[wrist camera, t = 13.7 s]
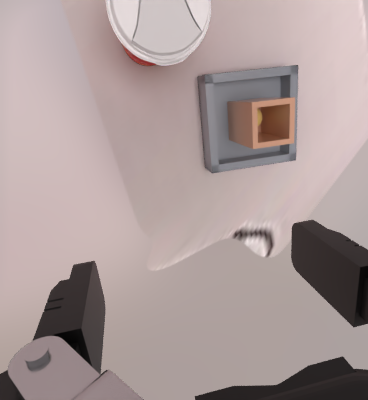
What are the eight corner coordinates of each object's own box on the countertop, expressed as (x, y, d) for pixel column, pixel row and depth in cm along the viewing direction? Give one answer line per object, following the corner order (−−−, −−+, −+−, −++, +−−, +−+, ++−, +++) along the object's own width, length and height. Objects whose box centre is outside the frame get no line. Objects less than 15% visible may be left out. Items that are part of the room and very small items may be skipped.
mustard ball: (236, 109, 39) (242, 106, 37) (256, 107, 40) (264, 103, 37) (238, 131, 40) (245, 129, 37) (258, 128, 40) (266, 126, 37)
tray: (197, 76, 38) (204, 74, 35) (283, 67, 40) (298, 65, 37) (205, 167, 42) (212, 173, 39) (283, 155, 44) (295, 160, 41)
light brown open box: (227, 101, 39) (251, 102, 32) (262, 97, 40) (295, 97, 32) (229, 140, 41) (253, 149, 33) (263, 135, 41) (294, 143, 34)
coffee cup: (104, 3, 34) (91, -65, 20) (174, -5, 35) (209, -74, 21) (120, 81, 37) (119, 70, 23) (184, 72, 38) (221, 56, 24)
